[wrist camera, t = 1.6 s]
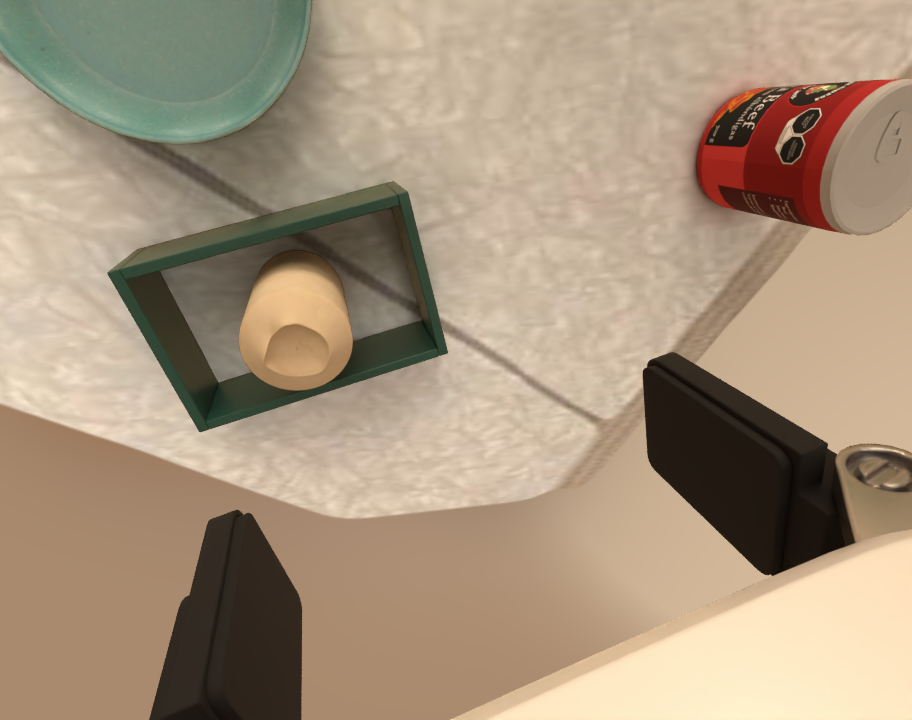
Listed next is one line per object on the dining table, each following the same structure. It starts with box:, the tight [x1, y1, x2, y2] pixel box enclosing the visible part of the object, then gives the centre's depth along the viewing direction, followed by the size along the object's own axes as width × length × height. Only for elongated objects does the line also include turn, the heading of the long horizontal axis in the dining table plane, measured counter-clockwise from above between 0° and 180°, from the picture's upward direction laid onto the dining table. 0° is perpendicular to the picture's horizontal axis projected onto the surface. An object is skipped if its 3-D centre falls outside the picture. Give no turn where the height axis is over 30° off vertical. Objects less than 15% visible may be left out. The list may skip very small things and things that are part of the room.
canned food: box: [697, 79, 912, 235], centre depth 32 cm, size 8×8×11 cm
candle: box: [239, 251, 353, 390], centre depth 28 cm, size 6×6×10 cm
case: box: [108, 181, 448, 432], centre depth 30 cm, size 10×16×5 cm, turn 103°
